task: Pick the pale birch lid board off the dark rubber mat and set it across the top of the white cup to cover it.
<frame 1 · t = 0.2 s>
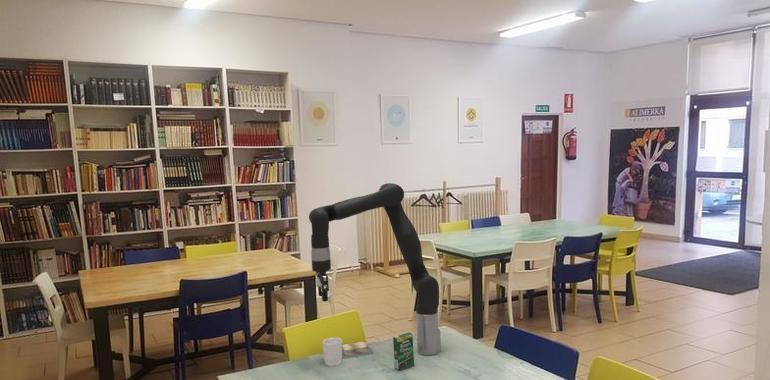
hand: (323, 298, 195), 28 cm above the table, tool pointing down, fingers open, 8 cm apart
lid board: (355, 351, 210), point 1 cm above the table, touching mat
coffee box: (404, 368, 194), on the table
white cup: (333, 365, 199), on the table
mat: (355, 353, 210), on the table
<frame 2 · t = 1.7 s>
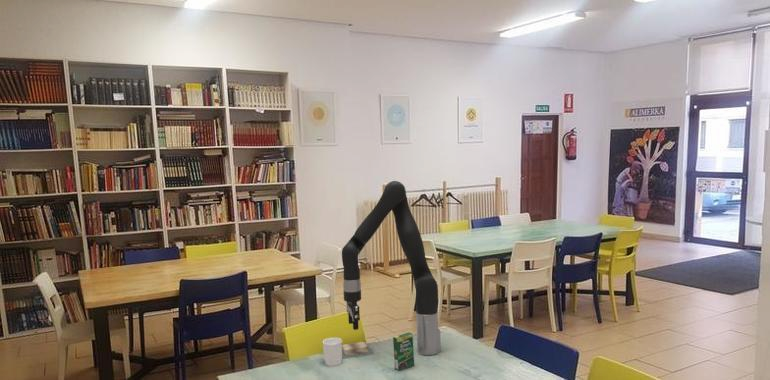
hand: (353, 326, 209), 12 cm above the table, tool pointing down, fingers open, 8 cm apart
nothing on the table moved.
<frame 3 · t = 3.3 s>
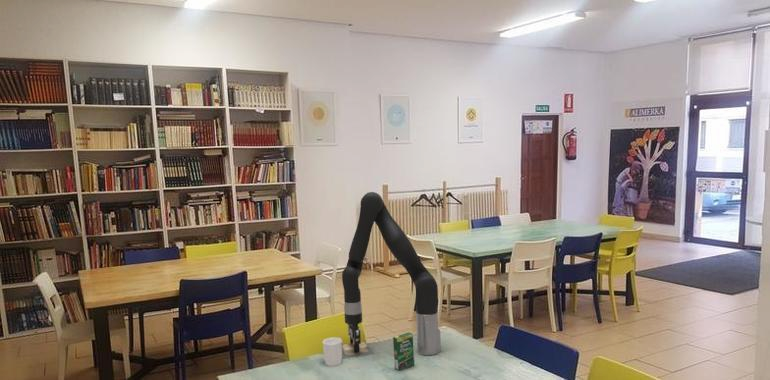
hand: (354, 349, 210), 2 cm above the table, tool pointing down, fingers closed on lid board, 6 cm apart
lid board: (355, 351, 210), point 1 cm above the table, touching gripper, mat
everything else where it was.
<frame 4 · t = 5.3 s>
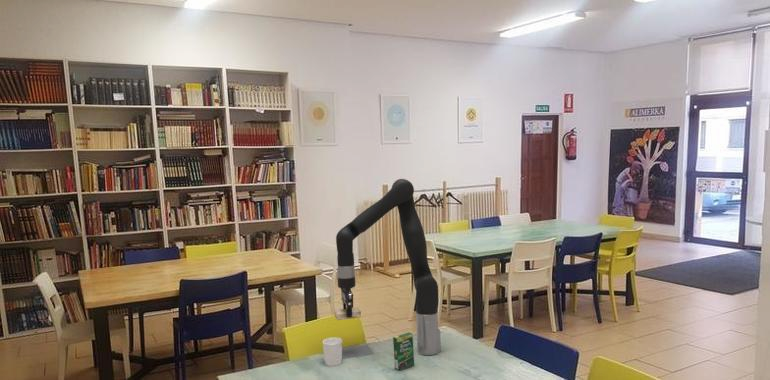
hand: (347, 314, 207), 18 cm above the table, tool pointing down, fingers closed on lid board, 6 cm apart
lid board: (347, 316, 207), point 17 cm above the table, touching gripper
everything else where it was.
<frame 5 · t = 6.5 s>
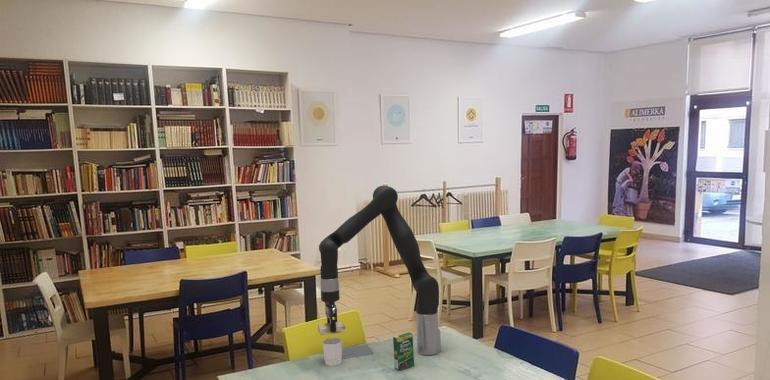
hand: (331, 329, 198), 15 cm above the table, tool pointing down, fingers closed on lid board, 6 cm apart
lid board: (331, 331, 198), point 14 cm above the table, touching gripper
everything else where it was.
when the fingers open (12 cm above the table, at t = 7.5 s): lid board drops 1 cm, resting on white cup.
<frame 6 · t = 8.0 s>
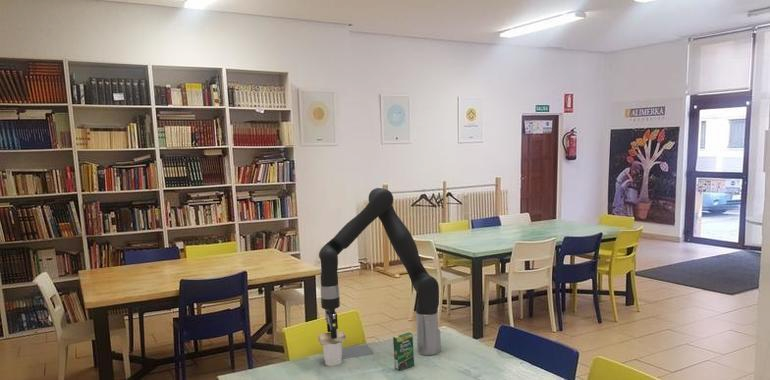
hand: (332, 335, 198), 12 cm above the table, tool pointing down, fingers open, 8 cm apart
lid board: (332, 340, 199), point 10 cm above the table, touching white cup
white cup: (333, 365, 199), on the table, touching lid board
everything else where it was.
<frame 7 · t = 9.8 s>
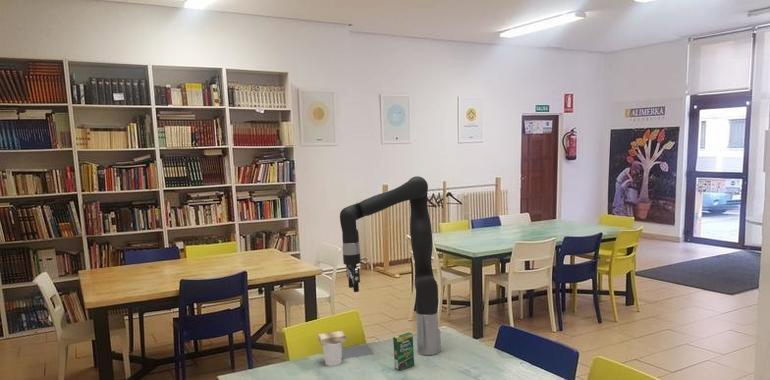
hand: (353, 289, 211), 27 cm above the table, tool pointing down, fingers open, 8 cm apart
nothing on the table moved.
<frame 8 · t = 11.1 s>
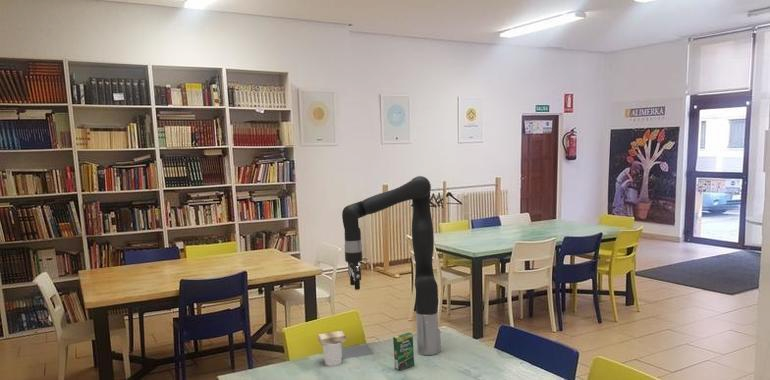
hand: (355, 287, 212), 28 cm above the table, tool pointing down, fingers open, 8 cm apart
nothing on the table moved.
at the end: lid board 0.1 cm off-centre on the white cup, point 10.2 cm above the white cup's base; white cup tilted 0°; the gripper is holding nothing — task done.
